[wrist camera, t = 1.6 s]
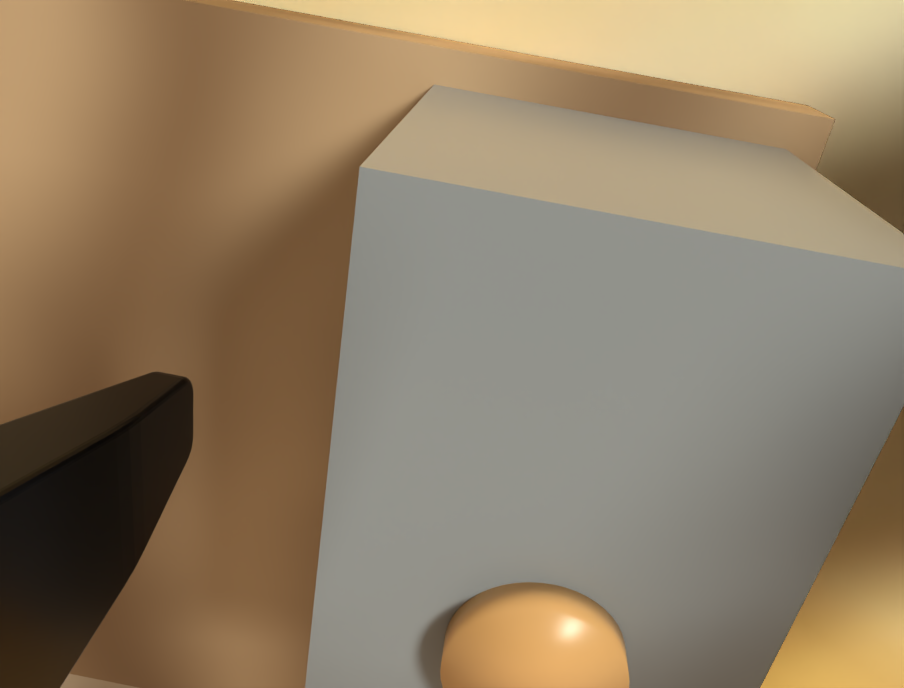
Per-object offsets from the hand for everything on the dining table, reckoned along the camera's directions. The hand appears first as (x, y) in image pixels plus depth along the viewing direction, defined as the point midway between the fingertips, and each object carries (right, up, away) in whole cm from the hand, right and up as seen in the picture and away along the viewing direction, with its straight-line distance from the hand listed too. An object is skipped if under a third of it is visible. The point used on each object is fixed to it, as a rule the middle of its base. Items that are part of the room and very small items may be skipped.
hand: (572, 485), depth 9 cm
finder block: (0, +2, +4) cm, 4 cm away
